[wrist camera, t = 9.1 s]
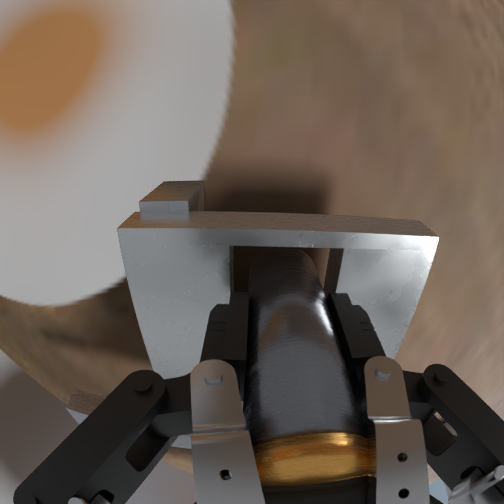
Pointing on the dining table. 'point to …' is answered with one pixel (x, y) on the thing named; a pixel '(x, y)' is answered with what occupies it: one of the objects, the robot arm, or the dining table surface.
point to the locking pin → (298, 379)
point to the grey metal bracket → (222, 273)
